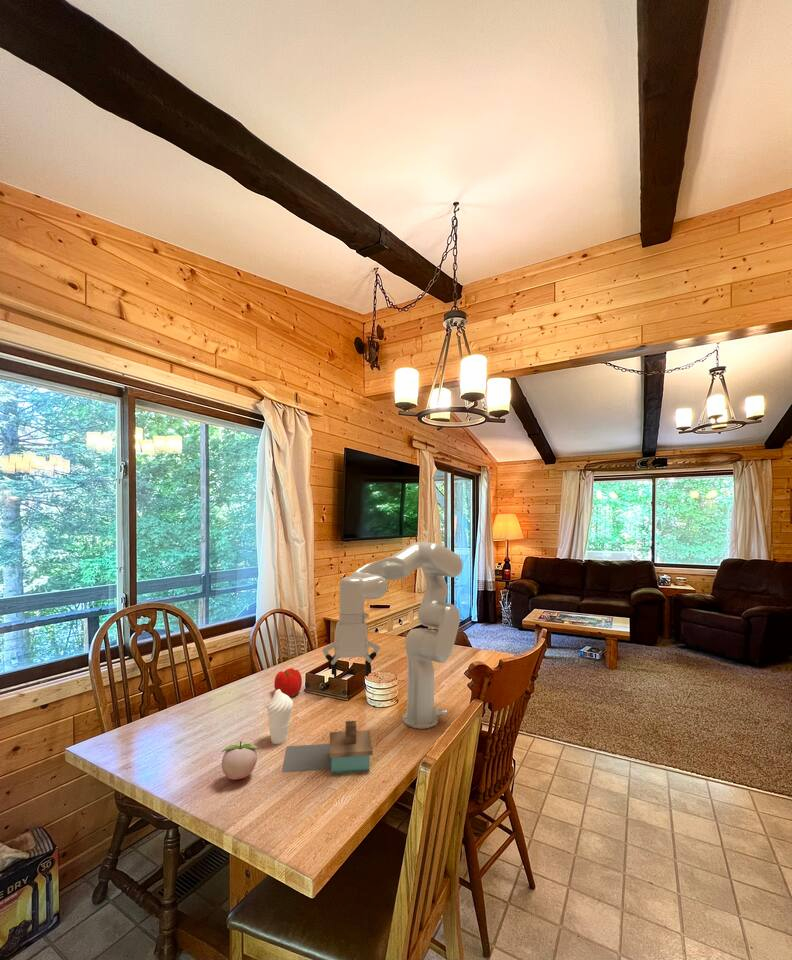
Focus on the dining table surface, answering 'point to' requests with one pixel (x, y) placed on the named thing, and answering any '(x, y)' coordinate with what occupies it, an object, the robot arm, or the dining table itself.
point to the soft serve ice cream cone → (279, 716)
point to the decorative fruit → (239, 760)
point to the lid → (350, 742)
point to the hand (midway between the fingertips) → (351, 675)
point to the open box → (349, 764)
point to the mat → (307, 758)
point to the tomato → (288, 681)
